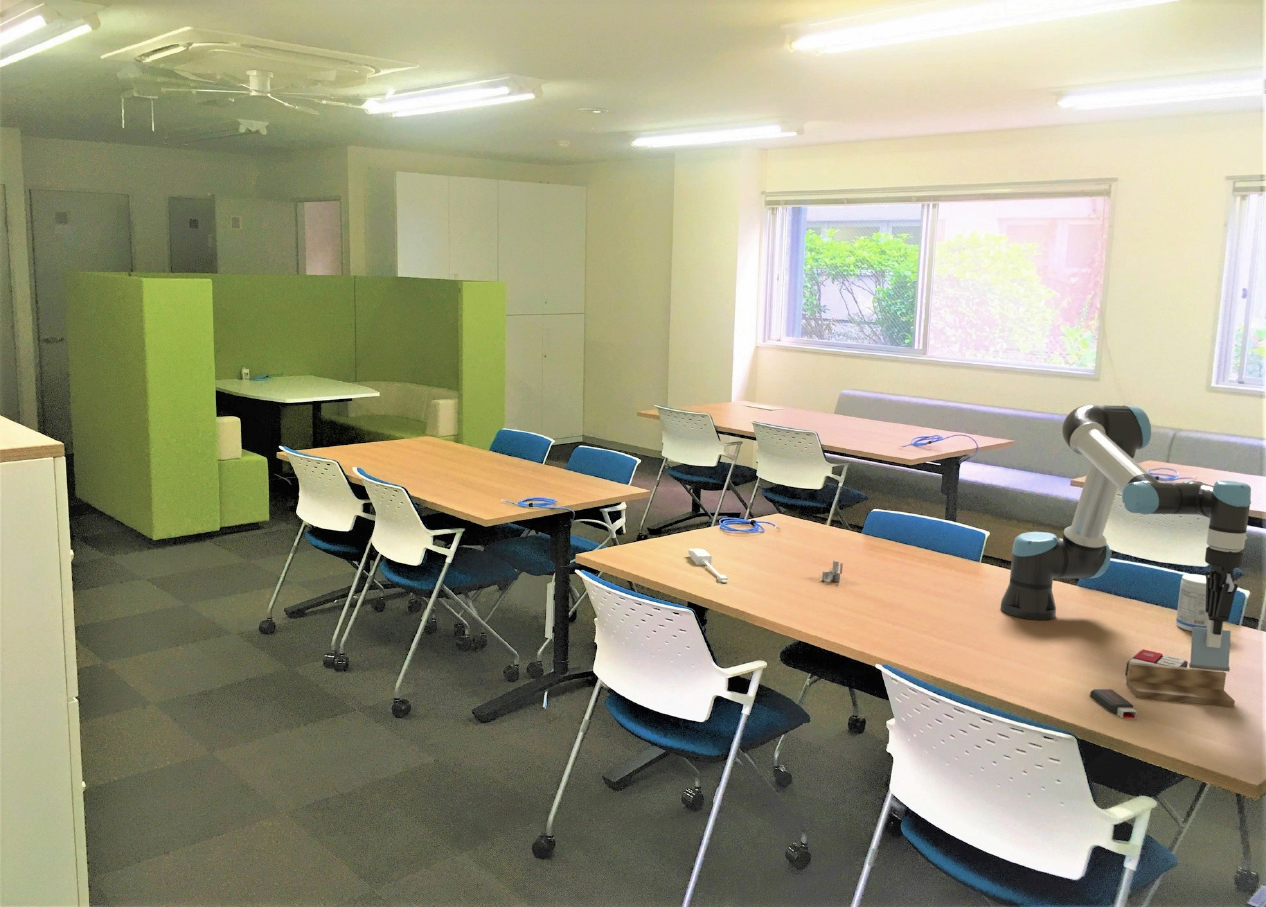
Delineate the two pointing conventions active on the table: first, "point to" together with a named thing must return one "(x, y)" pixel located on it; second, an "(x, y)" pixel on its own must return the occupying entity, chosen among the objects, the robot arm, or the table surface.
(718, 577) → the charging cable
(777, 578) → the table surface
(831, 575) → the architectural model
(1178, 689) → the wooden l-shaped bracket
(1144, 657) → the calculator
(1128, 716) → the usb drive
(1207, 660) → the light blue flat tile
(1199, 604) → the supplement tub
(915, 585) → the table surface
